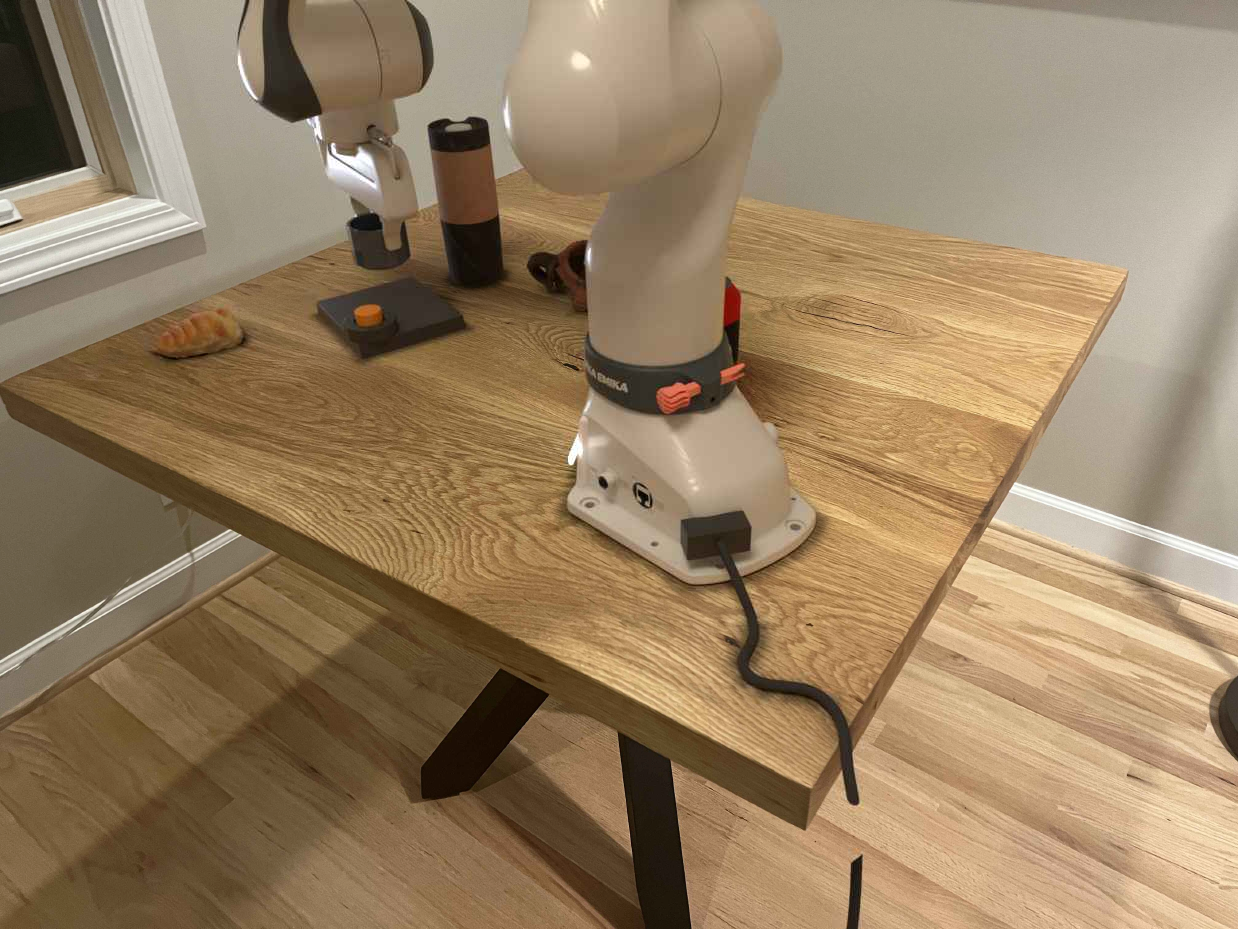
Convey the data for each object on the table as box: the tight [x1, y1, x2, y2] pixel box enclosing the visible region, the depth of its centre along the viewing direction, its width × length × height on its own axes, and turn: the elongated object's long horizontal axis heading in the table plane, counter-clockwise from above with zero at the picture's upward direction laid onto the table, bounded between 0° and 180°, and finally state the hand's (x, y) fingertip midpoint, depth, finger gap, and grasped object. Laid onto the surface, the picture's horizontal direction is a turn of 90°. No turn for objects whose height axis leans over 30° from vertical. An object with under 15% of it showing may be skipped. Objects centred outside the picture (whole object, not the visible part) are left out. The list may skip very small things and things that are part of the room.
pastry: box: [155, 305, 244, 360], centre depth 106 cm, size 9×7×4 cm
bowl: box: [345, 211, 412, 271], centre depth 108 cm, size 7×7×5 cm
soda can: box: [723, 275, 742, 386], centre depth 92 cm, size 8×8×12 cm
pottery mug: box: [526, 239, 588, 313], centre depth 114 cm, size 12×10×8 cm
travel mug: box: [427, 116, 504, 288], centre depth 116 cm, size 8×8×20 cm
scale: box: [315, 275, 466, 361], centre depth 110 cm, size 16×13×4 cm
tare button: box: [354, 305, 383, 326], centre depth 104 cm, size 3×3×2 cm
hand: (379, 237), depth 108 cm, fingers closed on bowl, 7 cm apart
